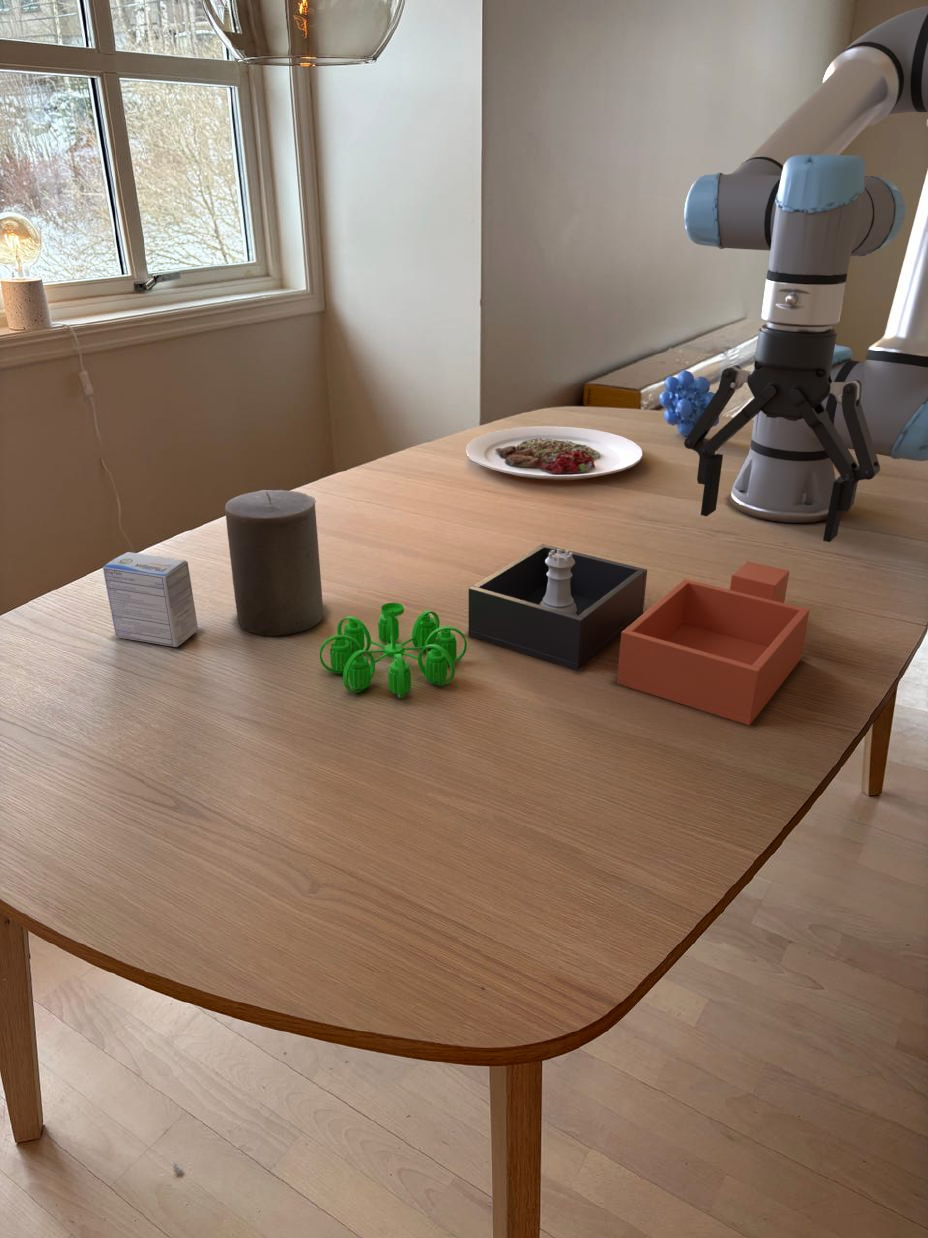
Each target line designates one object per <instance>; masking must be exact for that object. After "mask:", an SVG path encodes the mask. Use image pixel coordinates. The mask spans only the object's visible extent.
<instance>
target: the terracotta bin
mask: <svg viewBox="0 0 928 1238" xmlns="http://www.w3.org/2000/svg"><path fill="white" fill-rule="evenodd" d="M810 612H811V611H810V609H809V608H806V607H805V608H804V607H801V606H796V605H793V604H789V603H785V602H784V603H781V602H777V601H773V600H769V599H765V598H761V597H756V596H752V595H748V594H744V593H740V592H736V591H732V590H730V589H728V588H723V587H719V586H715V585H711V584H707V583H703V582H700V581H695V580H691V579H687V578H684V579H683V580H682V581H680V582H679V583H678V584H677V585H676V586H674V587H673V588H672V589H671V590H670V591H668V592H667V593H666V594H665V595H664V596H663V597H661V598H660V599H659V600H657V602H655V603H654V604H653V605H652V606H650V607H649V608H647V610H646V611H645V612H643V614H642V615H641V616H640V617H639V618H638V619H637V620H635V621H634V622H633V623H632V624H631V625H629V626H628V627H627V628H626V629H625V630H623V631H622V632H621V635H620V644H619V655H618V669H617V670H618V671H617V679H616V680H617V681H616V684H617V685H621V686H623V687H627V688H630V689H633V690H636V691H638V692H642V693H646V694H649V695H652V696H655V697H658V698H662V699H665V700H667V701H671V702H674V703H676V704H681V705H683V706H687V707H689V708H693V709H696V710H699V711H703V712H706V713H709V714H712V715H715V716H717V717H722V718H725V719H729V720H731V721H734V722H737V723H740V724H743V725H746V726H750V725H752V723H753V722H754V720H755V719H756V718H757V717H758V715H759V714H760V713H761V711H762V710H763V709H764V707H766V705H767V704H768V702H770V700H771V699H772V697H773V696H774V694H775V693H776V692H777V690H778V689H779V688H780V687H781V685H782V684H783V683H784V682H785V680H786V679H787V678H788V676H789V675H790V673H791V672H792V671H793V670H794V668H795V667H796V666H797V664H798V663H799V662H800V661H801V659H802V655H803V649H804V644H805V638H806V632H807V626H808V621H809V617H810Z"/></svg>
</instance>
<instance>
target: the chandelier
mask: <svg viewBox="0 0 928 1238" xmlns="http://www.w3.org/2000/svg"><path fill="white" fill-rule="evenodd" d="M404 607H405V606H404V605H403V604H402V603H399V602H387V603H384V604H382V605H381V607H380V613H381V614H380V615H379V619H378V623H377V625H378V626H377V627H378V628H377V629H378V638H379V641H380V642H382V643H386V645H384V644H381V643H379V642H376V641H374V640H372V638H371V634H370V631H369V629H368V628H367V626H366V624H364V622H363V621H362V620H361V619H359V618H357V617H355V616H353V615H350V616H345V617H344V618H342V619H341V620H339V622H338V624H337V628H336V630H337V634H335V635H332V636H330V637H328V638H326V639H325V640H324V641H323V642H322V644H321V646H320V649H319V660H320V663H321V665H322V666H323V668H324V669H325V670H327V671H328V672H330V673H332V674H337V675H342V683H343V687H344V689H346V690H347V691H349V692H351V693H353V694H359V693H361V692H363V691H364V690H365V689H367V688H369V687H370V685H371V683H372V679H373V677H374V674H375V671H376V663H377V662H380V661H381V660H382V659H384V658H389V659H394V660H393V661H392V662H391V663H389V669H388V673H387V675H388V690H390V692H391V693H393V694H395V695H397V697H398V699H405V696H406V693H408V692H410V691H411V689H412V688H411V687H412V670H411V668H410V663H409V662H408V661H405V659H404V658H403V656H406V657H409V658H412V659H414V660H417V663H418V668H419V670H420V672H421V674H422V676H423V677H424V678H425V679H426V680H427V681H428V682H430V683H431V684H433V685H436V686H445V685H448V683H450V682H452V680H453V679H454V678H455V674H456V665H455V663H458V662H459V661H460V660H461V659H462V658H463V657H464V655H465V654H466V652H467V647H468V643H467V639H466V636H465V635H464V633H463V632H462V631H461V630H460V629H459V628H457V627H454V626H449V625H447V626H441V625H440V624H441V623H440V617H439V615H438V614H437V612H435V611H432V610H424V611H423V612H421V613H420V614H419V615H418V617H417V618H416V620H415V622H414V623H413V627H412V631H411V638H409V639H407V640H405V641H404V642H402V643H396V642H397V641H398V640H399V637H400V622H399V620H398V617H399V616H402V615H403V614H404V613H405V612H404V611H405V608H404ZM430 614H431V615H432V616H433V617H432V616H431V615H430ZM346 620H347V621H348V622H347V623H345V624H344V622H345V621H346ZM343 624H344V627H343V628H344V629H343V631H342V626H343ZM454 632H455V633H457V634H458V635H460V636H461V637H462V639H463V649H462V650H461V652H460V653H459V654H458V656H457V653H458V652H457V651H458V649H457V647H458V645H457V643H458V642H457V639H456V634H455V633H454ZM410 642H412V645H413V646H412V647H404V646H405V645H408V644H409V643H410ZM329 643H330V648H329V657H330V666H328V665H327V664H326V663H325V661H324V660H323V657H322V655H323V650H324V648H326V646H327V645H328V644H329ZM371 644H372V645H375V646H377V647H380V648H383V649H374V650H370V648H371V646H372V645H371ZM429 649H430V650H429ZM413 650H414V651H415V650H419V652H418V655H417V656H415V655H413V654H410V653H407V652H406V651H413ZM424 652H426V657H425V660H424V661H423V654H424ZM378 653H382V655H381V656H380V657H378V658H376V659H375V656H374V655H373V654H378ZM364 654H367V656H368V657H366V656H364ZM423 662H424V663H423ZM448 665H449V667H450V675H449V678H448V679H447V677H448ZM446 679H447V680H446Z"/></svg>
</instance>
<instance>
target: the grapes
mask: <svg viewBox="0 0 928 1238" xmlns="http://www.w3.org/2000/svg"><path fill="white" fill-rule="evenodd" d="M663 385H664V388H665V390H664V391H661V392H660V394H659V395H658V402H659V404H660V405H661V407H663V408H665V409H666V410H665V411H664V413H663V418H664V420H665V422H666V423H667V424H668V425H671V426H676V425H677V426H676V428H677V429H676V430H677V432H678V434H680V435H681V436H683V437H686V438H687V437H688V435H689V433H690V432H691V430H692V429H693V427H694V426H695V424H696V423H697V421H698V419H699V418H700V416H701V415H702V413H703V412H704V410H705V409H706V407H707V405H708V404H709V402H710V401H711V399H712V398H713V396H714V395H715V393H716V392H713V391H710V389H711V383H710V381H709V380H708V378H707V377H704V376H701V375H700V376H697V377H696V378H695V376H694V374H693V373H692V372H691V371H689V370H686V369H684V370H681V371H680V372H679V373H678V376H677V377H676V376H672V375H670V376H667V377H666V378H665V379H664V384H663ZM719 423H720V416H719V417H718V418H717V420H716V421H715V423H714V424H713V426H712V427H711V428H714V427H716V426H718V424H719Z"/></svg>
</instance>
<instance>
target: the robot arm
mask: <svg viewBox="0 0 928 1238" xmlns="http://www.w3.org/2000/svg"><path fill="white" fill-rule="evenodd" d="M902 113H903V114H904V113H928V5H923V6H920V7H917V8H913V9H910V10H908V11H905V12H902V13H900V14H898V15H895V16H893V17H891V18H889V19H887V20H885V21H884V22H882V23H880V24H879V25H877V26H875V27H873V28H872V29H870V30H869V31H867V32H866V33H864V34H862V35H861V36H859V37H858V38H857V39H856V40H854V41H852V43H850V45H848V46H847V47H846V48H845V49H843V50H842V52H840V53H839V54H838V55H837V56H836V57H835V58H834V59H833V60H832V61H831V63H830V64H829V66H827V69H826V71H825V74H824V77H823V79H822V82H821V84H819V86H818V87H817V88H816V89H815V90H814V91H812V93H810V94H809V96H808V97H807V98H806V99H805V100H804V101H803V102H802V103H800V105H799V106H798V107H797V108H796V109H795V110H794V111H793V112H792V113H791V114H790V115H789V116H788V117H787V118H786V119H784V121H783V122H782V123H781V124H779V125H778V127H776V128H775V130H773V132H771V133H770V135H768V137H767V138H766V139H764V141H762V143H760V144H759V146H757V147H756V149H754V150H753V151H752V153H750V155H748V156H747V157H746V158H745V160H744V161H743V162H742V163H741V164H740V165H738V166H737V167H736V168H735V169H734V171H732V172H731V173H729V174H725V173H723V172H718V173H714V174H704V175H701V176H699V177H697V178H696V179H695V181H694V182H693V183H692V185H691V186H690V188H689V191H688V193H687V196H686V199H685V203H684V211H683V212H684V213H683V219H684V225H685V226H684V228H685V231H686V234H687V236H688V238H689V239H690V241H691V242H693V243H694V244H696V245H699V246H706V247H714V248H718V249H719V250H724V249H736V250H752V251H768V252H769V251H770V252H769V259H768V268H767V271H766V278H765V284H764V292H763V298H762V299H763V300H762V307H761V316H760V318H761V320H762V321H764V322H765V323H766V324H762V326H761V327H760V328H758V334H757V340H756V347H755V348H756V349H755V356H754V363H753V368H752V370H751V371H749V370H746V369H742V368H741V367H740V365H738V364H734V365H731V366H729V367H727V368H724V369H723V370H722V373H721V375H720V380H719V385H718V388H717V389H716V392H714V393H715V395H714V396H713V398H712V399H711V401H710V402H709V404H708V405H707V407H706V409H705V410H704V412H703V413H702V415H701V416H700V418H699V419H698V421H697V423H696V424H695V426H694V427H693V429H692V430H691V432H690V433H689V435H688V436H687V437H686V438H685V439H684V441H683V446H684V447H685V448H686V449H688V450H693V451H694V452H696V453H697V455H698V457H699V460H698V468H697V477H696V480H697V484H699V485H703V493H702V501H701V509H700V516H701V517H708V516H710V515H711V514H712V513H714V512H716V510H717V505H718V498H719V497H718V496H719V488H720V481H721V474H722V466H723V458H724V454H720V453H716V452H717V451H718V450H719V449H720V448H721V447H722V446H724V445H725V444H726V443H727V442H728V441H730V440H731V438H732V437H734V435H736V434H737V433H738V432H739V431H740V430H741V429H742V428H744V427H745V426H746V425H747V424H748V423H749V422H750V421H751V420H753V423H752V424H753V425H752V430H751V438H750V439H751V440H750V446H749V452H748V454H747V456H746V458H745V460H744V463H743V465H742V467H741V469H740V470H739V472H738V474H737V477H736V479H735V481H734V483H733V485H732V488H731V492H730V498H729V499H730V502H729V503H730V504H731V505H732V507H734V508H735V509H736V510H737V511H739V512H742V513H743V514H746V515H749V516H751V517H754V518H757V519H761V520H766V521H773V522H780V523H792V524H793V523H794V524H800V523H801V524H803V523H804V524H806V523H816V522H821V521H825V520H826V521H825V527H824V533H823V538H822V541H823V542H827V543H831V542H832V541H833V540H834V539H835V538H836V537H837V536H838V533H839V527H840V522H841V517H842V512H846V513H848V512H849V511H850V510H851V509H852V507H853V506H854V503H855V500H856V499H855V498H856V495H857V488H858V483H859V482H860V481H865V480H867V481H868V480H873V478H875V477H876V476H877V475H878V473H879V472H881V465H880V462H879V458H878V455H879V456H884V457H890V458H891V459H894V460H900V459H902V460H908V461H909V460H910V461H916V462H925V461H928V169H927V170H926V174H925V177H924V182H923V186H922V190H921V192H920V193H921V194H920V197H919V200H918V205H917V208H916V213H915V216H914V220H913V223H912V228H911V231H910V235H909V239H908V243H907V247H906V250H905V254H904V257H903V262H902V265H901V269H900V274H899V277H898V281H897V285H896V289H895V293H894V296H893V300H892V304H891V308H890V312H889V315H888V320H887V323H886V327H885V331H884V335H883V336H882V337H881V338H880V339H879V340H877V341H876V342H874V343H873V344H871V345H870V346H868V348H867V351H866V356H865V361H859V360H853V356H854V355H853V350H852V348H851V347H850V346H844V345H836V343H837V338H838V337H837V336H838V333H837V332H836V329H834V328H833V327H834V326H836V325H837V324H838V323H840V319H841V316H842V308H843V304H844V303H843V301H844V296H845V291H846V285H847V284H846V283H847V278H848V272H849V267H850V261H851V258H852V257H856V256H857V257H866V256H867V255H872V253H874V252H876V251H877V252H878V251H879V250H881V249H883V248H885V247H886V246H888V245H889V244H890V243H891V242H892V241H893V240H894V239H895V238H896V237H897V235H898V234H899V233H900V230H901V229H902V226H903V224H904V220H905V217H906V204H905V200H904V196H903V194H902V192H901V190H900V189H899V188H898V186H897V185H895V184H894V183H893V182H891V181H889V180H888V179H886V178H881V177H880V176H877V175H871V176H870V175H869V176H868V175H866V167H867V166H866V160H865V159H864V158H863V157H861V156H860V155H851V154H850V155H846V154H845V155H844V154H843V155H842V153H843V152H844V151H845V150H846V149H847V147H848V146H849V145H850V144H852V142H853V141H854V140H855V139H856V138H857V137H858V136H859V135H860V133H861V132H862V131H863V130H865V128H869V127H872V126H875V125H877V124H879V123H880V122H881V121H883V120H884V119H885V118H886V117H888V115H894V114H902ZM925 124H926V125H925V126H926V127H928V118H927V120H926V123H925ZM745 383H746V384H747V385H748V386H747V387H748V388H749V390H750V392H751V394H752V396H753V399H752V400H750V402H748V403H747V404H746V405H745V406H744V407H743V408H742V409H741V410H740V411H739V412H738V413H737V414H736V415H734V417H733V418H732V419H731V420H729V421H728V422H727V423H726V424H725V425H724V426H723V427H721V429H719V430H718V431H717V432H716V433H715V434H714V435H713V436H712V437H711V438H710V439H709V440H707V439H705V438H706V436H707V435H708V434H709V432H710V431H711V429H712V428H713V427H712V426H713V424H714V423H715V421H716V420H717V418H718V417H719V418H720V415H721V414H722V412H723V411H724V409H725V408H726V406H727V405H728V403H729V402H730V400H731V399H732V397H733V396H734V394H735V392H736V391H737V390H739V389H741V388H742V387H743V386H744V385H745ZM850 450H853V451H854V454H855V457H856V459H855V458H854V456H853V454H852V453H851V451H850ZM835 469H836V471H837V472H838V474H839V477H837V478H836V474H835Z"/></svg>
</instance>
